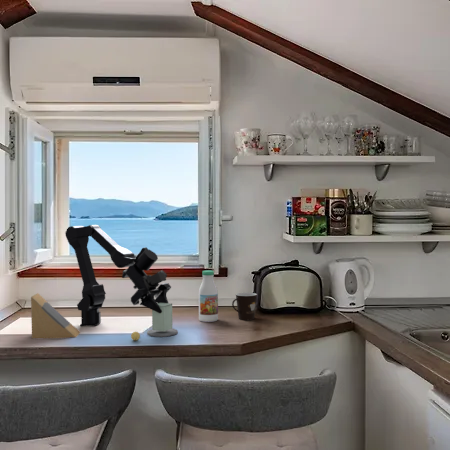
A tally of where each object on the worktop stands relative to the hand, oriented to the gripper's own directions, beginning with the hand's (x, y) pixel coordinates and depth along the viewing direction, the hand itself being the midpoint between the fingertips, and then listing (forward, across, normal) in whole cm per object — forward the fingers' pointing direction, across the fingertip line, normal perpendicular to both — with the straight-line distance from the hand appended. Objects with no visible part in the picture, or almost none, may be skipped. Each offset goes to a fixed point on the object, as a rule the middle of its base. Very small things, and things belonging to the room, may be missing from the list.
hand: (165, 311), depth 182 cm
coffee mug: (+17, +34, -5) cm, 38 cm away
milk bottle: (+8, +26, +3) cm, 28 cm away
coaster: (+5, 0, +7) cm, 8 cm away
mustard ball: (+3, -12, +9) cm, 15 cm away
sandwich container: (-18, -18, +30) cm, 40 cm away
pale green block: (+4, 0, +6) cm, 7 cm away
